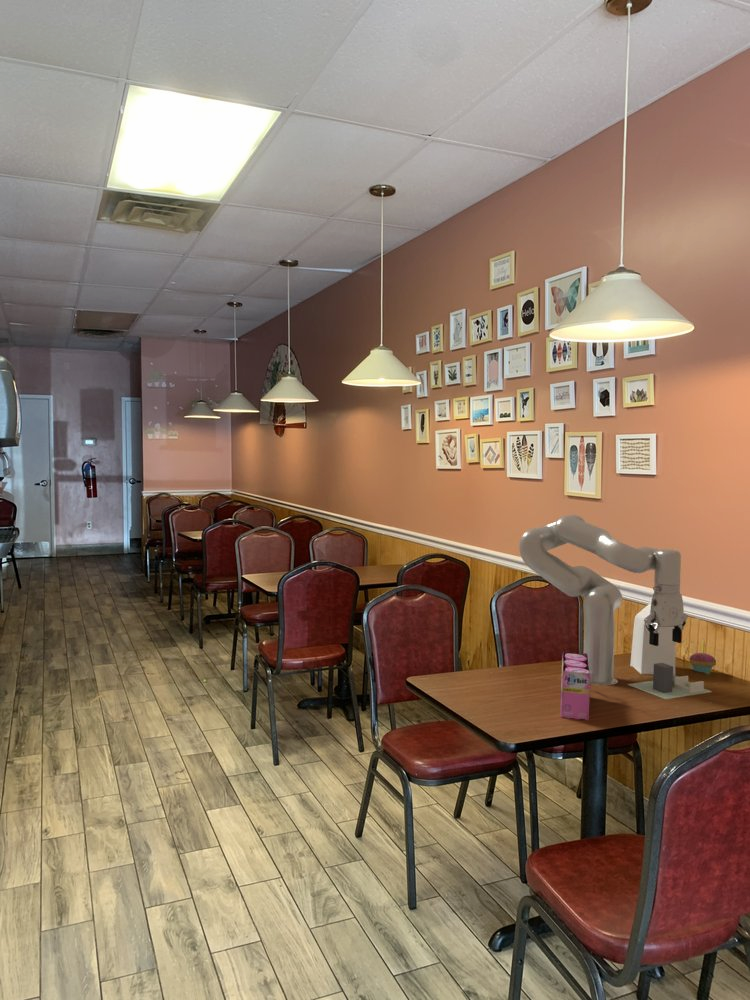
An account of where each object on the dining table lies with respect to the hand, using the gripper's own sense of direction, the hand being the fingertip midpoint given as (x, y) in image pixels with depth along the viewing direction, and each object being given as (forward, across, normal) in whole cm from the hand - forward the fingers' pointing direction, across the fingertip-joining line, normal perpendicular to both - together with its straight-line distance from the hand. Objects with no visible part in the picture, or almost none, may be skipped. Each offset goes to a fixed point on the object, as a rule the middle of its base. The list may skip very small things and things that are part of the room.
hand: (665, 643), depth 232 cm
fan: (+15, +8, +5) cm, 18 cm away
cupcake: (+16, +31, +12) cm, 37 cm away
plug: (+15, 0, 0) cm, 15 cm away
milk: (+16, +15, +19) cm, 29 cm away
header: (+15, +9, -2) cm, 17 cm away
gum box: (+16, -34, +1) cm, 38 cm away
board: (+16, +4, +1) cm, 17 cm away
